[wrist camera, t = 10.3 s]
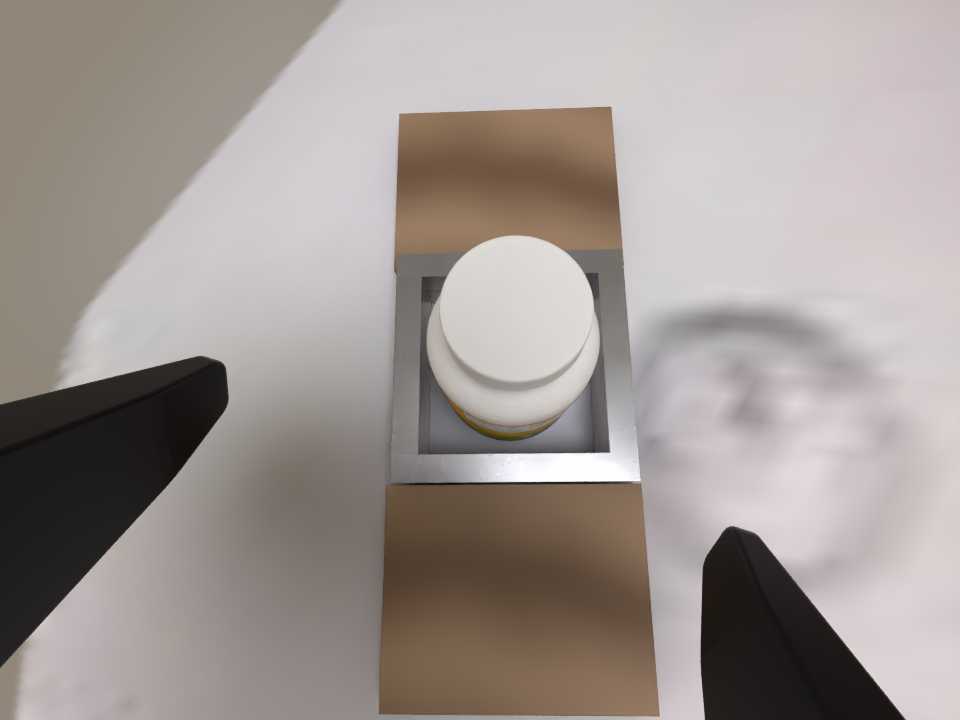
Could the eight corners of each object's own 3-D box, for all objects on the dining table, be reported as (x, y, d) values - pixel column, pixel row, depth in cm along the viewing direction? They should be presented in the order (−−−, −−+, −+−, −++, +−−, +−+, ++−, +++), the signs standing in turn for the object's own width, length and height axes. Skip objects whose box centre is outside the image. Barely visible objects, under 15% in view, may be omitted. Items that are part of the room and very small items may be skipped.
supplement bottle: (459, 312, 23) (432, 195, 14) (578, 331, 23) (634, 223, 13) (436, 430, 22) (389, 390, 13) (561, 452, 22) (609, 428, 12)
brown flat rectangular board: (649, 702, 19) (659, 716, 18) (386, 700, 20) (378, 714, 18) (605, 124, 25) (611, 106, 24) (404, 130, 26) (399, 113, 24)
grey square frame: (620, 481, 21) (640, 480, 18) (404, 483, 21) (389, 482, 19) (606, 278, 23) (622, 248, 20) (410, 282, 24) (397, 254, 21)
